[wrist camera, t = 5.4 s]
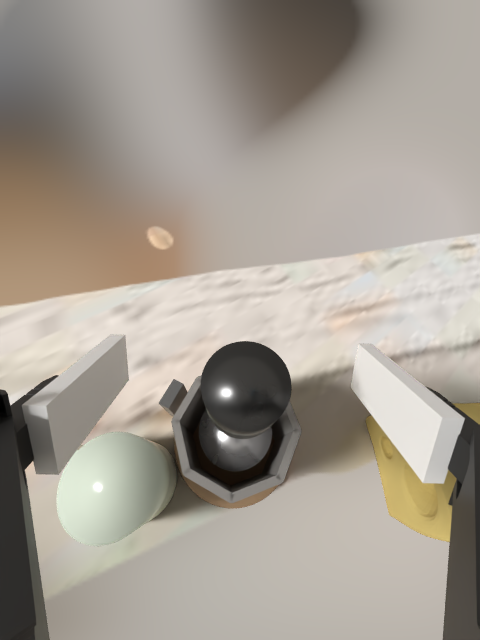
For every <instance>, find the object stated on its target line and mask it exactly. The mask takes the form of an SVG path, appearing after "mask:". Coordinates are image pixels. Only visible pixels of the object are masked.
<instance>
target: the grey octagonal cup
mask: <svg viewBox="0 0 480 640" xmlns="http://www.w3.org/2000/svg"><path fill="white" fill-rule="evenodd" d="M201 377H202V376H198V377H197V378H196V379H195V381H194V383H193V384H192V386H191V388H190V389H189V391H188V392H187V390H186V388H185V386H184V384H182V383H180V382H178V381H177V380H175V379H173V381H172V383H171V384H170V386H169V387H168V389H167V391H166V392H165V394H164V395H163V397H162V399H161V400H160V402H159V404H160V405H161V406H162V407H163V408H164V409H165V410H166V411H167V412H168V413H169V414H170V415H172V416H173V418H172V421H171V422H172V427H173V432H174V436H175V442H174V444H175V457H176V461H177V465H178V468H179V471H180V473H181V475H182V477H183V479H184V480H185V482H186V484H187V485H188V486H189V487H190V489H191V490H192V491H193V492H194V493H195V494H196V495H197V496H199V497H200V498H202V499H203V500H205V501H207V502H209V503H211V504H213V505H216V506H219V507H224V508H242V507H247V506H250V505H253V504H255V503H257V502H259V501H261V500H263V499H264V498H266V497H267V496H268V495H269V494H271V493H272V492H273V491H274V490H275V489H276V487H277V486H278V485H279V484H281V483H282V482H284V479H285V476H286V473H287V471H288V468H289V465H290V462H291V459H292V457H293V454H294V451H295V448H296V446H297V443H298V440H299V437H300V435H301V432H302V431H301V428H300V425H299V423H298V420H297V418H296V415H295V413H294V410H293V408H292V406H291V403H290V401H289V403H288V405H287V408H286V410H285V411H284V413H283V414H282V415H281V416H280V417H279V419H278V420H277V421H276V422H275V423H274V424H272V439H271V444H270V447H269V449H268V451H267V453H266V454H265V456H264V457H263V459H262V460H261V461H260V462H259V463H257V464H256V465H255V466H253V467H251V468H249V469H247V470H243V471H227V470H224V469H222V468H220V467H218V466H216V465H215V464H213V463H212V462H211V461H210V460H209V459H208V458H207V456H206V455H205V453H204V451H203V449H202V447H201V444H200V439H199V425H200V421H201V418H202V415H203V413H204V412H205V410H206V407H205V404H204V401H203V398H202V394H201Z"/></svg>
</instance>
